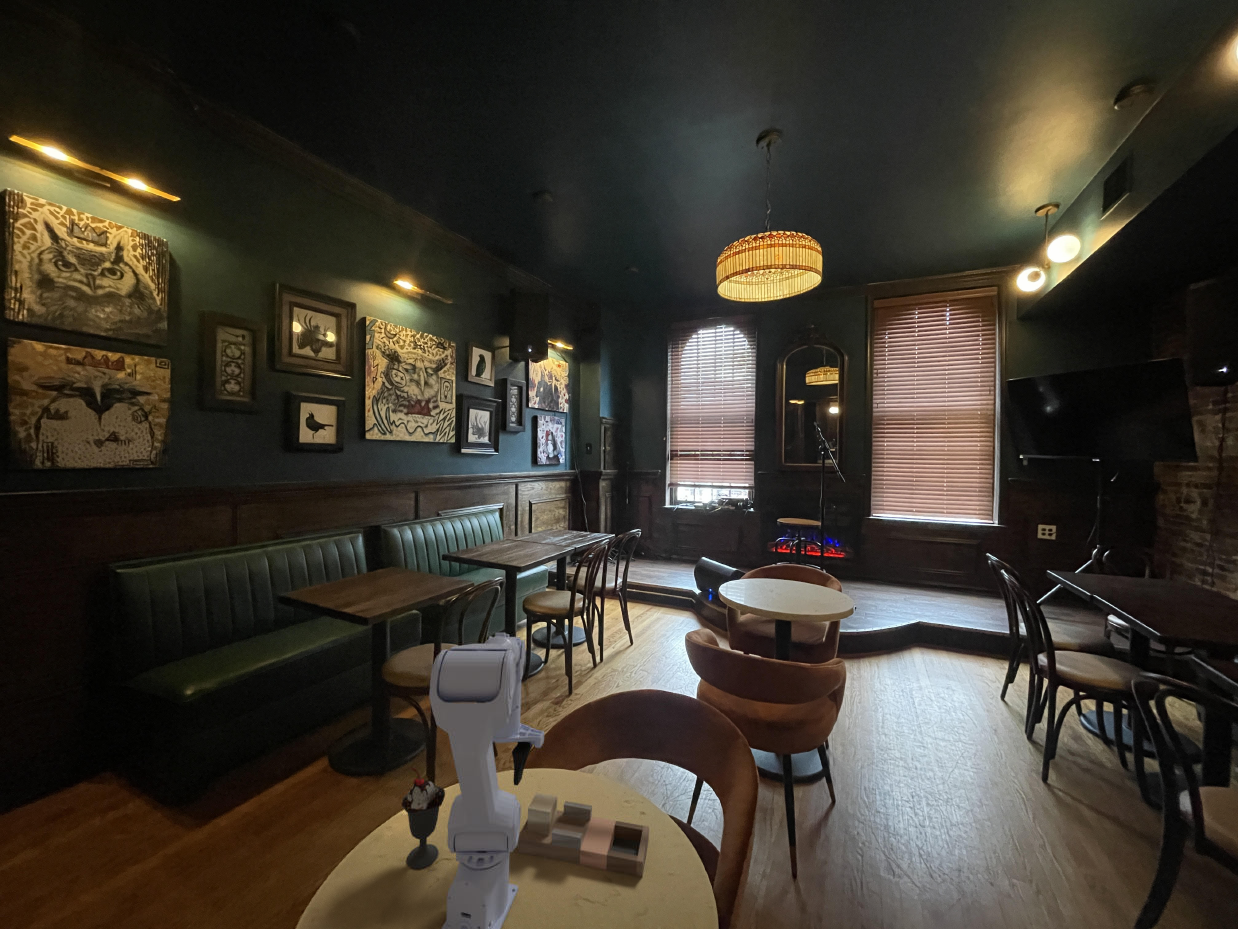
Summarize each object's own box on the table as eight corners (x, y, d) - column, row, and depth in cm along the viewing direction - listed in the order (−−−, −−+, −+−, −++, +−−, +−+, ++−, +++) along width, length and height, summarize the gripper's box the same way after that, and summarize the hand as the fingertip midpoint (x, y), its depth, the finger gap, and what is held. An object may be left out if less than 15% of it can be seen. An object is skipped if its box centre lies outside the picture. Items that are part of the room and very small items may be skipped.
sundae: (400, 848, 83) (401, 762, 83) (441, 836, 86) (443, 752, 86) (400, 879, 77) (402, 787, 77) (445, 865, 80) (447, 776, 80)
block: (549, 835, 84) (550, 812, 84) (527, 830, 85) (528, 808, 85) (556, 818, 88) (557, 796, 88) (535, 814, 89) (536, 792, 88)
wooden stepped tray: (642, 877, 79) (643, 850, 79) (517, 852, 83) (518, 826, 83) (648, 840, 87) (649, 815, 86) (533, 819, 91) (534, 795, 90)
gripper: (550, 698, 90) (548, 771, 90) (477, 688, 92) (475, 759, 93) (536, 719, 83) (534, 797, 83) (458, 707, 86) (456, 783, 86)
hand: (502, 779), depth 88 cm, fingers open, 5 cm apart
